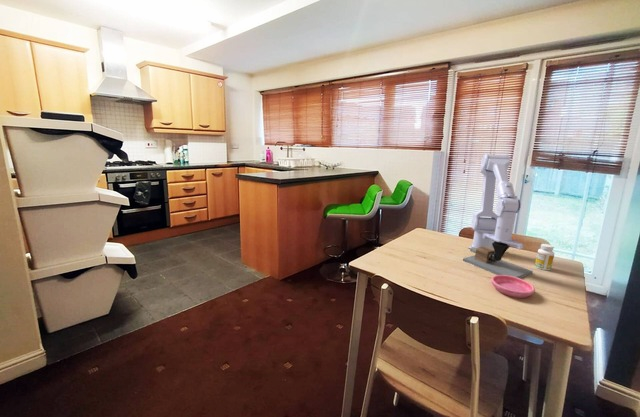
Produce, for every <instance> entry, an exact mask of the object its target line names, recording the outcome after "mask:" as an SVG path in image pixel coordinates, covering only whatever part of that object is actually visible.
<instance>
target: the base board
mask: <svg viewBox="0 0 640 417" xmlns="http://www.w3.org/2000/svg"><path fill="white" fill-rule="evenodd" d="M462 261H463V262H465V263H468V264H470V265H472V266H474V267H475V266H476V267H478V268H479V269H483V270H485V271H488V272H490V273H492V274H494V275H508V276H513V277H517V278H520V279H522V278H523V277H526V276H529V275H532V274H533V273H534V271H533V270H532V269H528V268H526V267H523V266H519V265H517V264H514V263H512V262H509V261H507V260H503V259H501V260H500V261H496V262H489V263H484V262H481V261H479V260H476V259H475V254H474V255H470V256H467V257H464V258H463V259H462Z"/></svg>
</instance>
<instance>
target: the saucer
mask: <svg viewBox="0 0 640 417" xmlns="http://www.w3.org/2000/svg"><path fill="white" fill-rule="evenodd" d="M490 281H491V284H492V286H493V287H494V288H495V290H497V291H498V293H499V292H500V293H501V294H503V295H504V296H509V297H511V298H515V299H516V298H517V299H525V298H528V297H530V296H532V295H533V294H534V293H535V291H536V287H535V286H534V285H533V284H532V283H531V282H529V281H527V280H525V279H522V278H517V277H513V276H508V275H497V274H494V275H493V276H491V279H490Z"/></svg>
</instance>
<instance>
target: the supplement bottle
mask: <svg viewBox="0 0 640 417" xmlns="http://www.w3.org/2000/svg"><path fill="white" fill-rule="evenodd" d="M554 247H555V246H554V245H552V244H548V243H541V244H540V248H539V249H537V253H536V258H535V263H534V267H535V268H537V269H538V270H541V269H542V270H541V271H551V270H552V266H553V263H554V258H555V252H554Z"/></svg>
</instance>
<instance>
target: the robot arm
mask: <svg viewBox="0 0 640 417" xmlns="http://www.w3.org/2000/svg"><path fill="white" fill-rule="evenodd" d="M510 164H511V156H510V155H509V154H488V153H485V154H484V155H483V156H482V157H481V160H480V168H479V169H480V170H479V171H480V174H483V182H482V183H483V184H482V191H481V192H482V193H481V202H480V204H481V205H480V210H478V211H476V212H474V214H473V216H472V219H471V229H473V231H474V232H473V233H474V234H473V240H472V244H471V245H470V246H467V248H468V249H471V247H475V248H479V247H483V246H487V247H490V248H493V249H494V250H495V255H496V260H497V261H500V260H502V259H503V256H504V255H505V253H506V252H507V250H508V249H509V248H510V247H512V248H515V249H516V250H519V251H520V250H522V249H523V248H524V244H523V243H521V242H519V241H516V240H513V239H512V236H513V230H514V226H515V220H516V214H518V213H519V212H520V211H521V208H522V207H521V205H522V204H521V203H522V202H521V198H519V197H518V195H516V193H515V190H514V186H513V184H512V182H509V176H508V169H509V166H510ZM496 182H497V184H496ZM495 190H496V192H495ZM495 193H496V194H497V199H498V200H497V203H496V212H494V202H495V201H494V200H495Z"/></svg>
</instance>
